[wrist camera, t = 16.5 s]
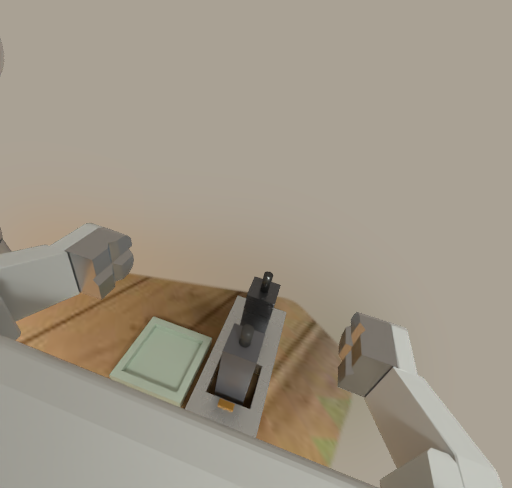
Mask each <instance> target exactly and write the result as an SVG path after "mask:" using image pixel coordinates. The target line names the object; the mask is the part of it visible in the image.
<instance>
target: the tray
mask: <svg viewBox="0 0 512 488" xmlns="http://www.w3.org/2000/svg"><path fill="white" fill-rule="evenodd" d="M211 343H212V338H211V337H208V336H205V335H203V334H200V333H197V332H194V331H192V330H189V329H186V328H184V327H181V326H178V325H175V324H173V323H170V322H167V321H165V320H162V319H159V318H156V317H154V316H153V318H152V319H151V320H150V322H149V323H148V324H147V326H146V327H145V328H144V330H143V331H142V332H141V334H140V335H139V336H138V338H137V339H136V340H135V342H134V343H133V344H132V345H131V347H130V348H129V349H128V351H127V352H126V353H125V355H124V356H123V357H122V359H121V360H120V361H119V363H118V364H117V365H116V367H115V368H114V369H113V371H112V372H111V373H110V375H109V376H110V379H111V380H114V381H116V382H119V383H121V384H124V385H126V386H129V387H131V388H134V389H136V390H139V391H141V392H144V393H146V394H148V395H151V396H153V397H156V398H158V399H161V400H163V401H166V402H168V403H171V404H173V405H176V406H178V407H180V408H181V406H182V404H183V401H184V399H185V397H186V395H187V393H188V391H189V389H190V387H191V385H192V383H193V381H194V379H195V377H196V374H197V372H198V370H199V368H200V366H201V364H202V362H203V360H204V358H205V356H206V354H207V352H208V349H209V347H210V345H211Z"/></svg>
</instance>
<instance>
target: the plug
mask: <svg viewBox="0 0 512 488" xmlns="http://www.w3.org/2000/svg"><path fill="white" fill-rule="evenodd" d="M264 337H265V334H264V333H261V332H258V331H255V330H254V327H253V326H251V325H249V324H246V325H244V326H241V325H238V324H236V323H234V325H233V327H232V330H231V332H230V335H229V337H228V339H227V342H226V344H225V346H224V349H223V351H222V356H221V362H220V367H219V372H218V377H217V383H216V388H215V393H214V395H215V396H218V397H220V398H223V399H225V400H228V401H230V402H233V403H235V404H238V405H240V406H242V405H243V402H244V399H245V396H246V393H247V390H248V387H249V384H250V381H251V379H252V376H253V373H254V370H255V367H256V364H257V361H258V357H259V354H260V350H261V347H262V344H263V340H264Z"/></svg>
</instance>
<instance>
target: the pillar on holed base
mask: <svg viewBox="0 0 512 488" xmlns="http://www.w3.org/2000/svg"><path fill="white" fill-rule="evenodd" d="M272 277H273V274H272V273H271V272H265V274H264V277H263V279H261V278H258V277H254V280H253V282H252V285H251V287H250V289H249V291H248V294H247V297H246V298H243V297H241V296H237V298H236V300H235V303H234V305H233V307H232V309H231V311H230V313H229V315H228V318H227V320H226V322H225V324H224V326H223V328H222V330H221V333H220V335H219V337H218V339H217V341H216V343H215V345H214V348H213V350H212V352H211V354H210V356H209V358H208V360H207V363H206V365H205V367H204V369H203V371H202V373H201V375H200V378H199V380H198V382H197V384H196V386H195V388H194V390H193V393H192V395H191V397H190V399H189V401H188V403H187V405H186V408H185V410H188V411H190V412H193V413H195V414H198V415H200V416H203V417H205V418H208V419H210V420H213V421H215V422H217V423H220V424H222V425H225V426H227V427H230V428H232V429H235V430H237V431H240V432H242V433H245V434H247V435H249V436H252V437H254V438H256V435H257V431H258V427H259V423H260V419H261V415H262V411H263V406H264V402H265V398H266V394H267V390H268V386H269V382H270V378H271V374H272V369H273V365H274V361H275V357H276V353H277V349H278V345H279V341H280V336H281V332H282V328H283V324H284V320H285V316H286V312H284V311H281V310H278V309H275V308H274V305H275V302H276V299H277V295H278V292H279V289H280V285H279V284H276V283H273V282H271V281H272ZM234 323H236V324H238V325H241V326H244V325H246V324H249V325H251V326H253V327H254V330H255V331H258V332H261V333H264V334H265V337H264V340H263V344H262V347H261V350H260V354H259V357H258V361H257V364H256V367H255V370H254V373H255V374H258V375H259V377H258V381H257V384H256V388H255V391H254V395H253V398H252V402H251V405H250V409H248V408H246V407H243V406H240V405H238V404H235V403H233V402H230V401H228V400H225V399H223V398H220V397H218V396H215V395H212V394H210V393H208V391H209V388H210V386H211V384H212V381H213V379H214V377H215V374H216V372H217V369H218V367H219V365H220V362H221V356H222V351H223V349H224V346H225V344H226V342H227V339H228V337H229V335H230V332H231V330H232V327H233V325H234Z"/></svg>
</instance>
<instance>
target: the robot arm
mask: <svg viewBox="0 0 512 488" xmlns="http://www.w3.org/2000/svg"><path fill="white" fill-rule="evenodd" d="M3 64H4V52H3V46H2V42H1V39H0V75H1V72H2V69H3ZM131 246H132V242H131V238H130V237H129V236H127V235H124V234H122V233H119V232H116V231H113V230H110V229H108V228H105V227H101V226H99V225H96V224H93V223H86V224H85V225H83V226H81V227H80V228H78V229H76V230H74V231H73V232H71V233H70V234H68V235H66V236H65V237H63V238H61V239H60V240H58V241H57V242H55V243H53V244H52V245H50V246H48V245H41V246H36V247H33V248H27V249H22V250H17V251H13V252H12V251H11V250H10V249H9V247H8V246H7V245H6V243H5V242H4V240H3V238H2V232H1V229H0V488H377V487H375V486H372V485H370V484H368V483H365V482H363V481H360V480H358V479H355V478H353V477H351V476H348V475H346V474H343V473H341V472H338V471H335V470H333V469H331V468H328V467H326V466H323V465H321V464H318V463H316V462H314V461H311V460H309V459H306V458H304V457H301V456H299V455H296V454H294V453H291V452H289V451H286V450H284V449H282V448H279V447H277V446H274V445H272V444H269V443H267V442H264V441H262V440H259V439H257V438H254V437H252V436H249V435H247V434H245V433H242V432H240V431H237V430H235V429H232V428H230V427H227V426H225V425H222V424H220V423H217V422H215V421H213V420H210V419H208V418H205V417H203V416H200V415H198V414H195V413H193V412H190V411H188V410H185V409H183V408H180V407H178V406H176V405H173V404H171V403H168V402H166V401H163V400H161V399H158V398H156V397H153V396H151V395H148V394H146V393H144V392H141V391H139V390H136V389H134V388H131V387H129V386H126V385H124V384H121V383H119V382H116V381H114V380H111V379H109V378H107V377H104V376H102V375H99V374H97V373H94V372H92V371H89V370H87V369H84V368H82V367H79V366H77V365H74V364H72V363H70V362H67V361H65V360H62V359H60V358H57V357H55V356H52V355H50V354H47V353H45V352H42V351H40V350H37V349H35V348H33V347H30V346H28V345H25V344H23V343H20V342H18V341H15V340H16V339H17V338H18V337H19V336H20V333H21V331H20V329H19V328H18V326H17V324H16V322H15V321H18V320H20V319H22V318H24V317H27V316H29V315H31V314H34V313H36V312H38V311H41V310H43V309H45V308H48V307H50V306H52V305H55V304H57V303H59V302H61V301H64V300H66V299H68V298H71V297H73V296H75V295H78V294H79V292H80V293H83V294H86V295H89V296H92V297H95V298H98V299H101V300H102V299H103V298H104V297H105V296H106V295H107V294H108V293H109V292H110V291H111V290H112V289H113V288H114V287H115V281H118V280H121V279H124V278H125V277H126V276H127V275H128V274H129V272H130V270H131V268H132V266H133V261H134V259H133V254H132V253H131V251H130V250H129V248H130V247H131ZM339 357H340V358H341V360H342V362H341V364H340V365H339V367H338V387H340V388H342V389H345V390H347V391H350V392H352V393H355V394H357V395H360V396H362V397H365V398H364V399H365V402H366V404H367V406H368V408H369V410H370V412H371V414H372V416H373V419H374V420H375V423H376V425H377V427H378V429H379V431H380V433H381V435H382V438H383V440H384V442H385V444H386V446H387V448H388V450H389V452H390V454H391V457H392V459H393V461H394V463H395V465H396V467H397V469H396V470H394V471H393V472H391V473H390V474H388V475H387V476H385V477H383V478H382V479H381V480H380V488H503V487H502V484H501V482H500V479H499V476H498V473H497V471H496V470H495V468H494V467H493V466H492V464H491V463H490V462H489V461H488V459H487V458H486V457H485V456H484V454H483V453H482V452H481V450H480V449H479V448H478V447H477V445H476V444H475V443H474V442H473V440H472V439H471V438H470V437H469V435H468V434H467V433H466V431H465V430H464V429H463V428H462V426H461V425H460V424H459V423H458V421H457V420H456V419H455V417H454V416H453V415H452V414H451V412H450V411H449V410H448V408H447V407H446V406H445V405H444V404H443V402H442V401H441V399H440V398H439V397H438V396H437V394H436V393H435V392H434V391H433V389H432V388H431V387H430V385H429V384H428V383H427V382H426V380H425V379H424V378H423V377H421V376H418V373H417V369H416V365H415V361H414V356H413V352H412V348H411V344H410V339H409V335H408V331H407V329H406V328H405V327H402V326H399V325H396V324H393V323H390V322H386V321H383V320H380V319H377V318H374V317H371V316H368V315H365V314H362V313H359V312H356V313H355V314H354V315H353V317H352V319H351V326H349V327H346V328H345V330H344V332H343V334H342V336H341V340H340V344H339Z"/></svg>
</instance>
